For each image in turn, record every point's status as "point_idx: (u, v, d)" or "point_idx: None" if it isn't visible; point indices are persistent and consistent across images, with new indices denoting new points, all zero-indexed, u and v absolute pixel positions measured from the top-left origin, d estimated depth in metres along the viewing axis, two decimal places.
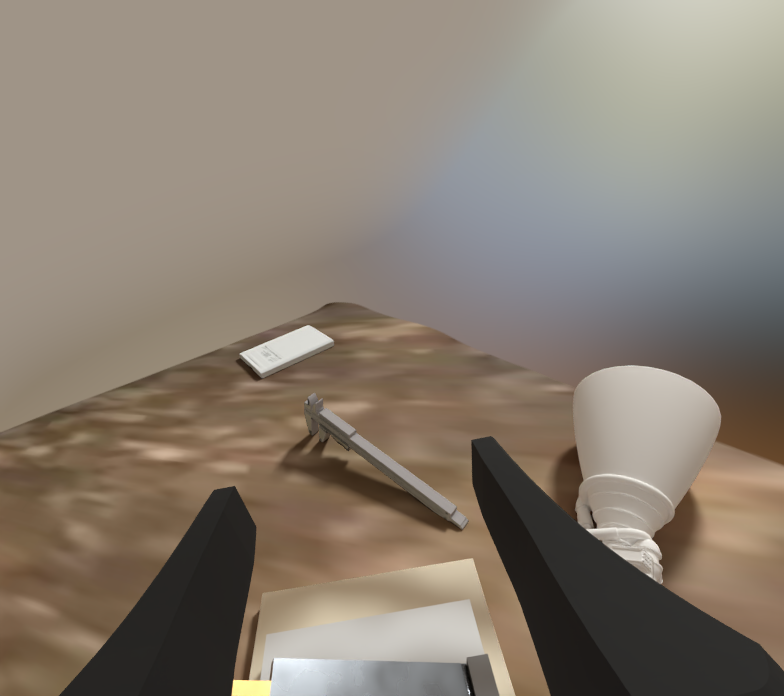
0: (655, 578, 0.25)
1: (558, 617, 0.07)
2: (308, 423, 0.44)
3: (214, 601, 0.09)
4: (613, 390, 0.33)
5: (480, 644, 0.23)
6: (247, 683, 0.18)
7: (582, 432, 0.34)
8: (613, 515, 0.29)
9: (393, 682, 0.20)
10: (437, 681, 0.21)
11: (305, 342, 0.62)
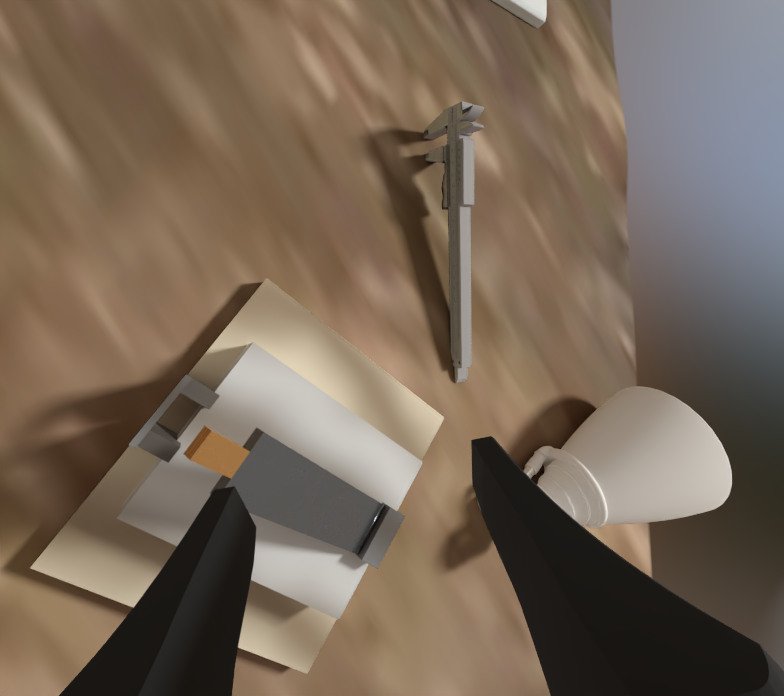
0: None
1: (558, 617, 0.07)
2: (435, 123, 0.30)
3: (214, 601, 0.09)
4: (682, 441, 0.30)
5: (402, 497, 0.25)
6: (228, 443, 0.15)
7: (616, 429, 0.32)
8: (561, 498, 0.31)
9: (335, 497, 0.20)
10: (360, 510, 0.22)
11: None
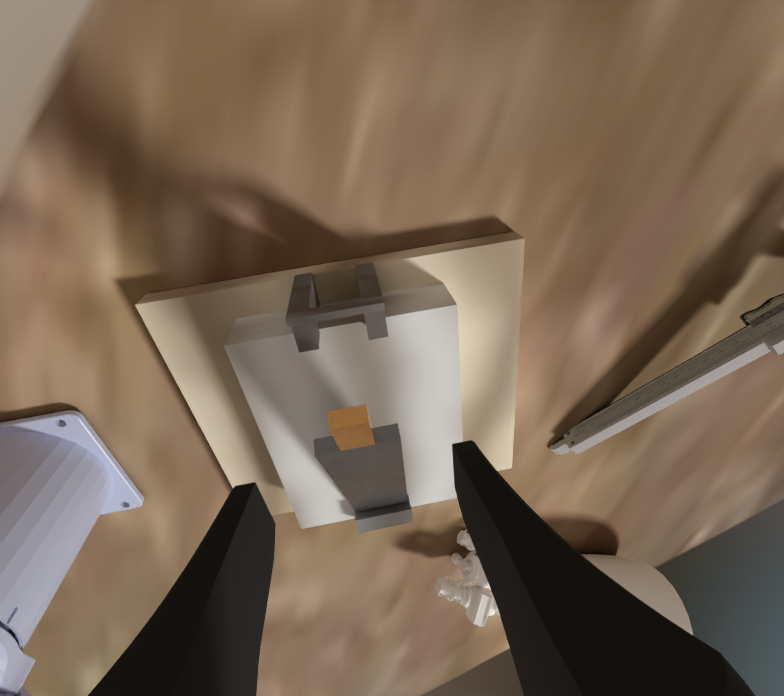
0: None
1: (528, 624, 0.07)
2: None
3: (239, 596, 0.09)
4: None
5: (424, 503, 0.24)
6: (368, 434, 0.13)
7: None
8: None
9: (387, 486, 0.19)
10: (391, 497, 0.21)
11: None
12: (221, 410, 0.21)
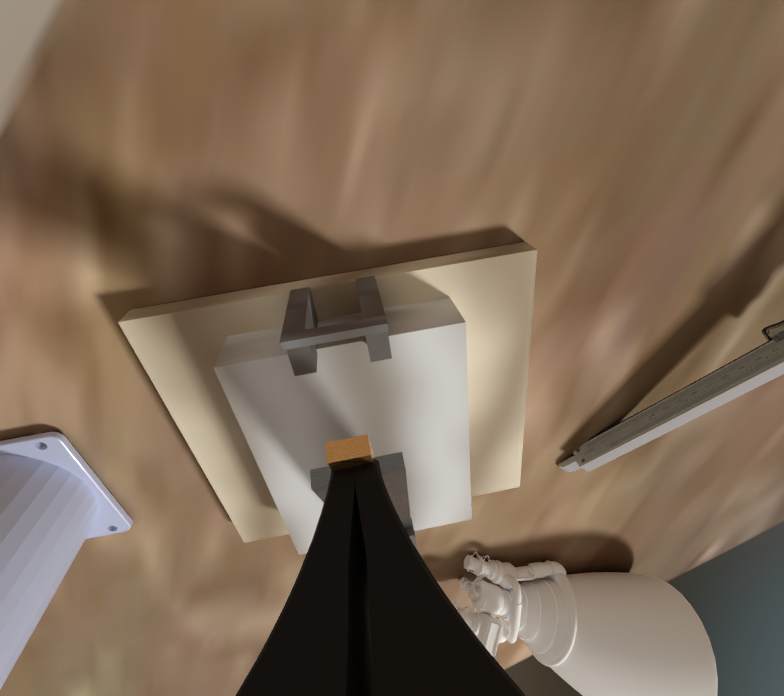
0: None
1: None
2: None
3: (359, 571, 0.09)
4: None
5: (428, 526, 0.22)
6: None
7: (634, 627, 0.29)
8: (531, 622, 0.30)
9: None
10: None
11: None
12: (213, 431, 0.20)
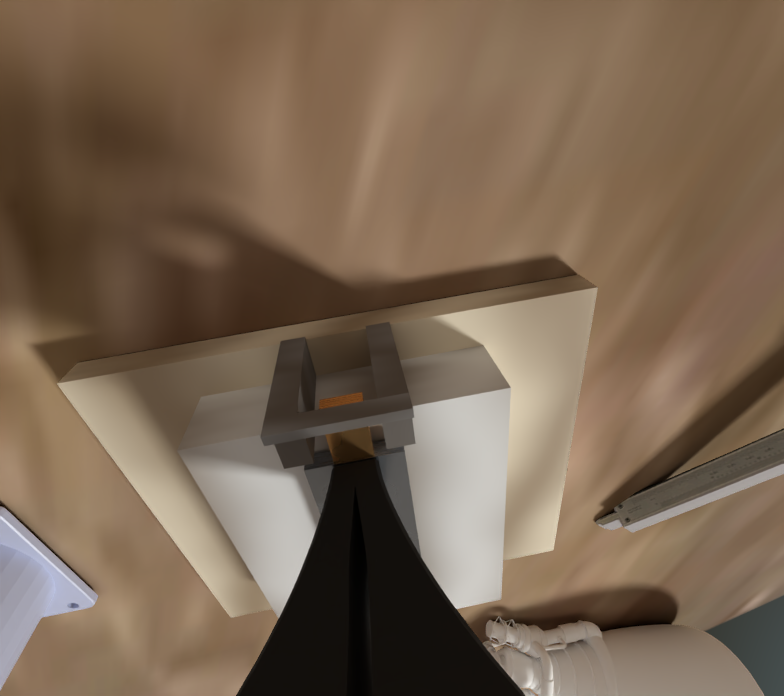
0: None
1: None
2: None
3: (359, 571, 0.09)
4: None
5: None
6: (365, 432, 0.11)
7: None
8: None
9: None
10: None
11: None
12: (188, 504, 0.16)
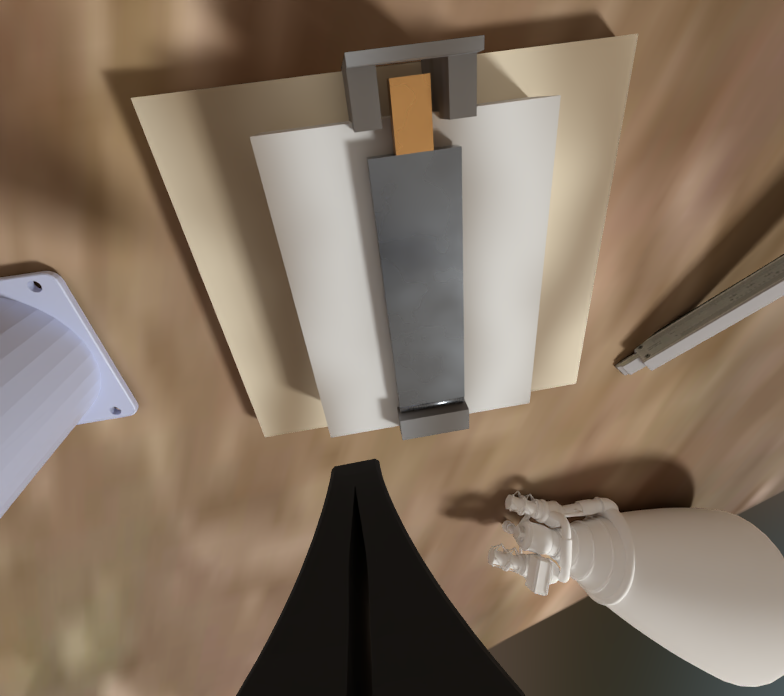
0: None
1: None
2: None
3: (359, 571, 0.09)
4: (756, 627, 0.25)
5: (480, 410, 0.19)
6: (428, 111, 0.12)
7: (701, 557, 0.26)
8: (585, 559, 0.27)
9: (441, 320, 0.16)
10: (445, 370, 0.17)
11: None
12: (237, 276, 0.17)
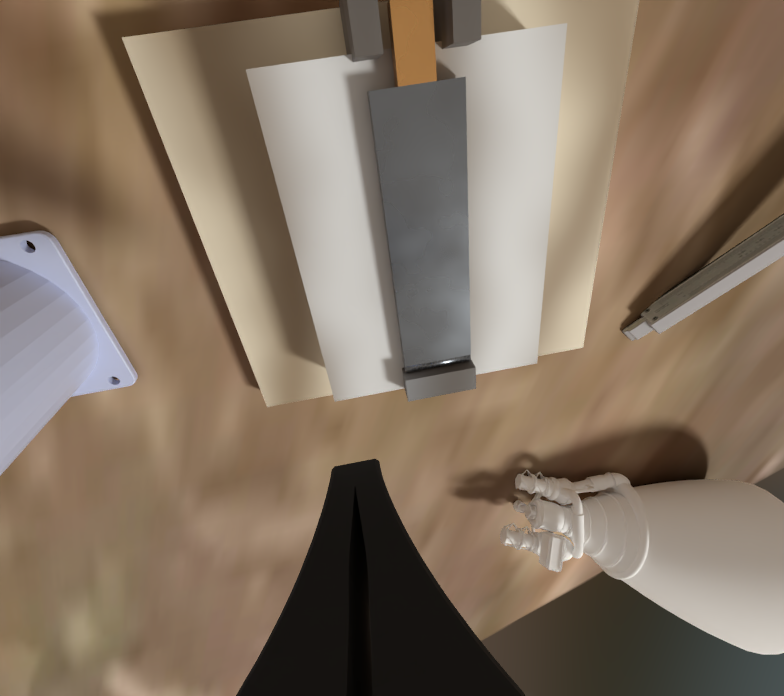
0: None
1: None
2: None
3: (359, 571, 0.09)
4: (776, 593, 0.24)
5: (486, 371, 0.19)
6: (430, 37, 0.11)
7: (716, 526, 0.26)
8: (598, 534, 0.27)
9: (446, 270, 0.15)
10: (450, 326, 0.17)
11: None
12: (236, 233, 0.16)
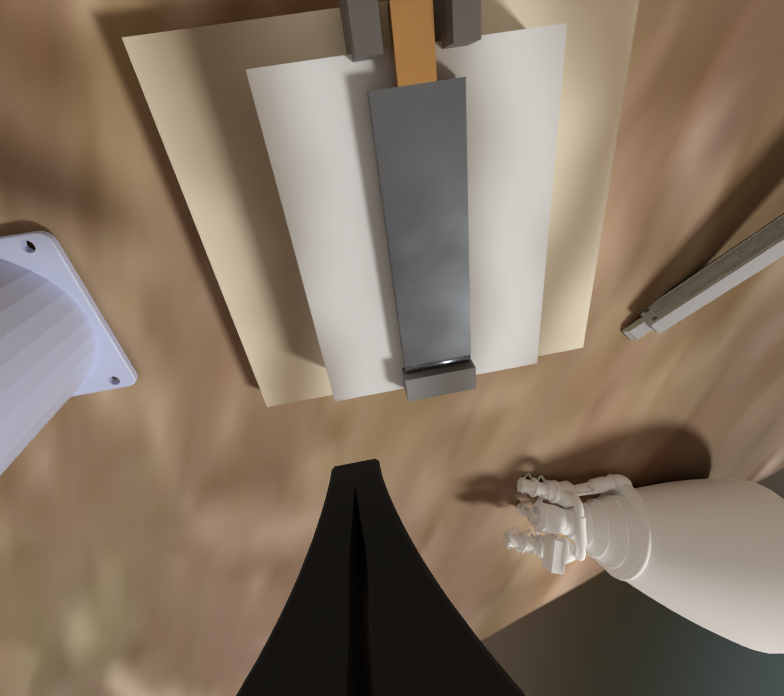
0: (539, 556, 0.28)
1: None
2: None
3: (359, 571, 0.09)
4: (780, 593, 0.24)
5: (486, 371, 0.19)
6: (430, 37, 0.11)
7: (718, 526, 0.26)
8: (600, 536, 0.28)
9: (446, 270, 0.15)
10: (450, 326, 0.17)
11: None
12: (236, 233, 0.16)
